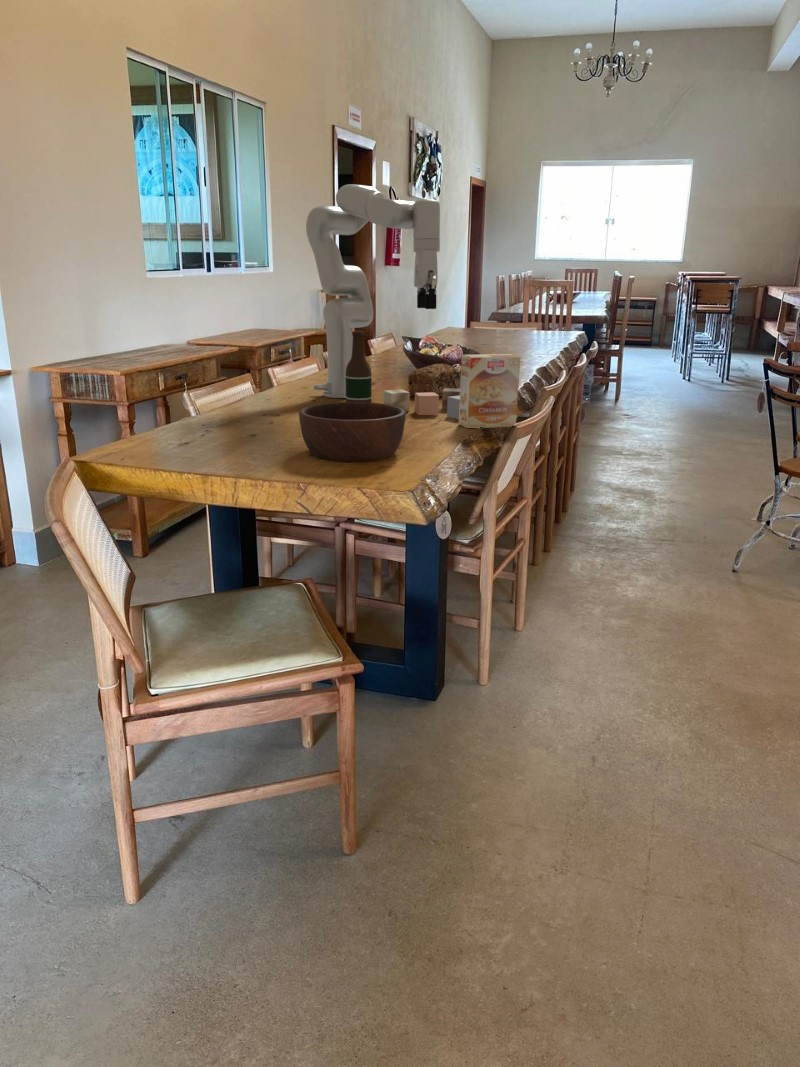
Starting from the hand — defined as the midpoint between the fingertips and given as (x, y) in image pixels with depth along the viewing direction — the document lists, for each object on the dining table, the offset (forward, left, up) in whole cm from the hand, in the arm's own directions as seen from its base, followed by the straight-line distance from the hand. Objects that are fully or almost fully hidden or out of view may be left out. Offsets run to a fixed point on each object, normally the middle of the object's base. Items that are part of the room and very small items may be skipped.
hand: (426, 308), depth 232 cm
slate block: (+9, -10, -31) cm, 33 cm away
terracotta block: (0, -3, -31) cm, 31 cm away
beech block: (-8, +3, -31) cm, 32 cm away
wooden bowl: (-29, -51, -31) cm, 67 cm away
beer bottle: (-20, +1, -31) cm, 37 cm away
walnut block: (+10, +4, -31) cm, 32 cm away
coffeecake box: (+13, -23, -31) cm, 41 cm away
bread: (+11, +32, -31) cm, 46 cm away
